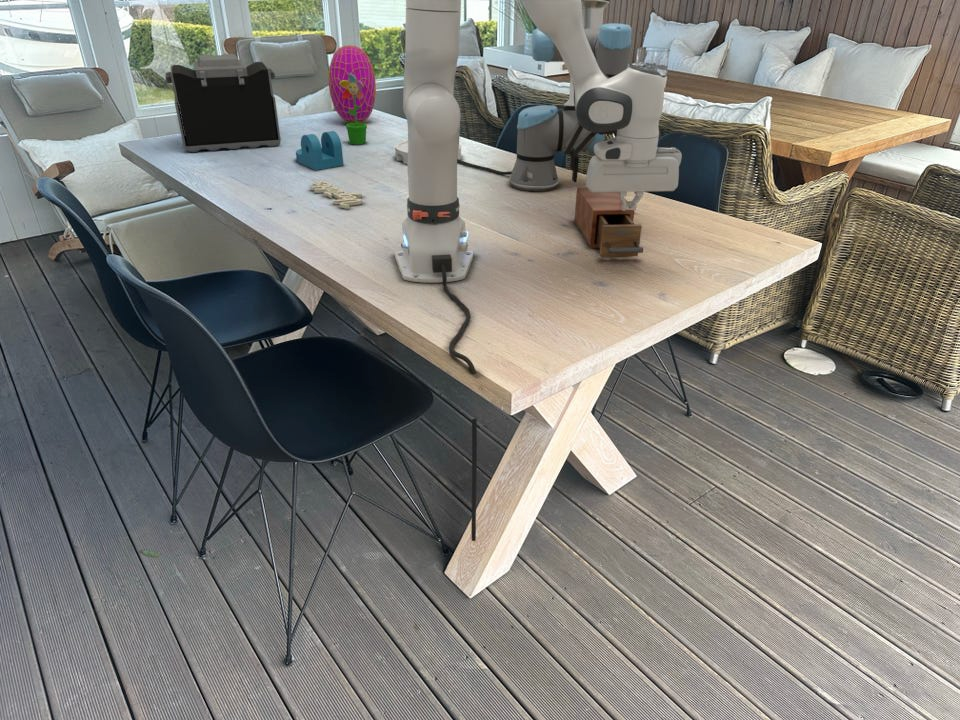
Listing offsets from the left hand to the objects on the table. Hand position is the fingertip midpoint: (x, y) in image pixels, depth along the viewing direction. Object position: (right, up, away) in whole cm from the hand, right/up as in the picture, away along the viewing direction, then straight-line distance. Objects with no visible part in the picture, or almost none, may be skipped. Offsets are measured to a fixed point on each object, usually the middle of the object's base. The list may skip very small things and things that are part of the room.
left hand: (628, 210), depth 155 cm
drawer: (-1, -6, +14) cm, 15 cm away
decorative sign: (-76, +15, +50) cm, 92 cm away
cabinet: (-2, -1, +24) cm, 24 cm away
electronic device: (-127, +48, +104) cm, 171 cm away
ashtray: (-52, +38, +89) cm, 110 cm away
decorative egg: (-87, +68, +139) cm, 177 cm away
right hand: (-2, +13, +24) cm, 27 cm away
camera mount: (-90, +34, +82) cm, 127 cm away
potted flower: (-80, +49, +107) cm, 142 cm away
